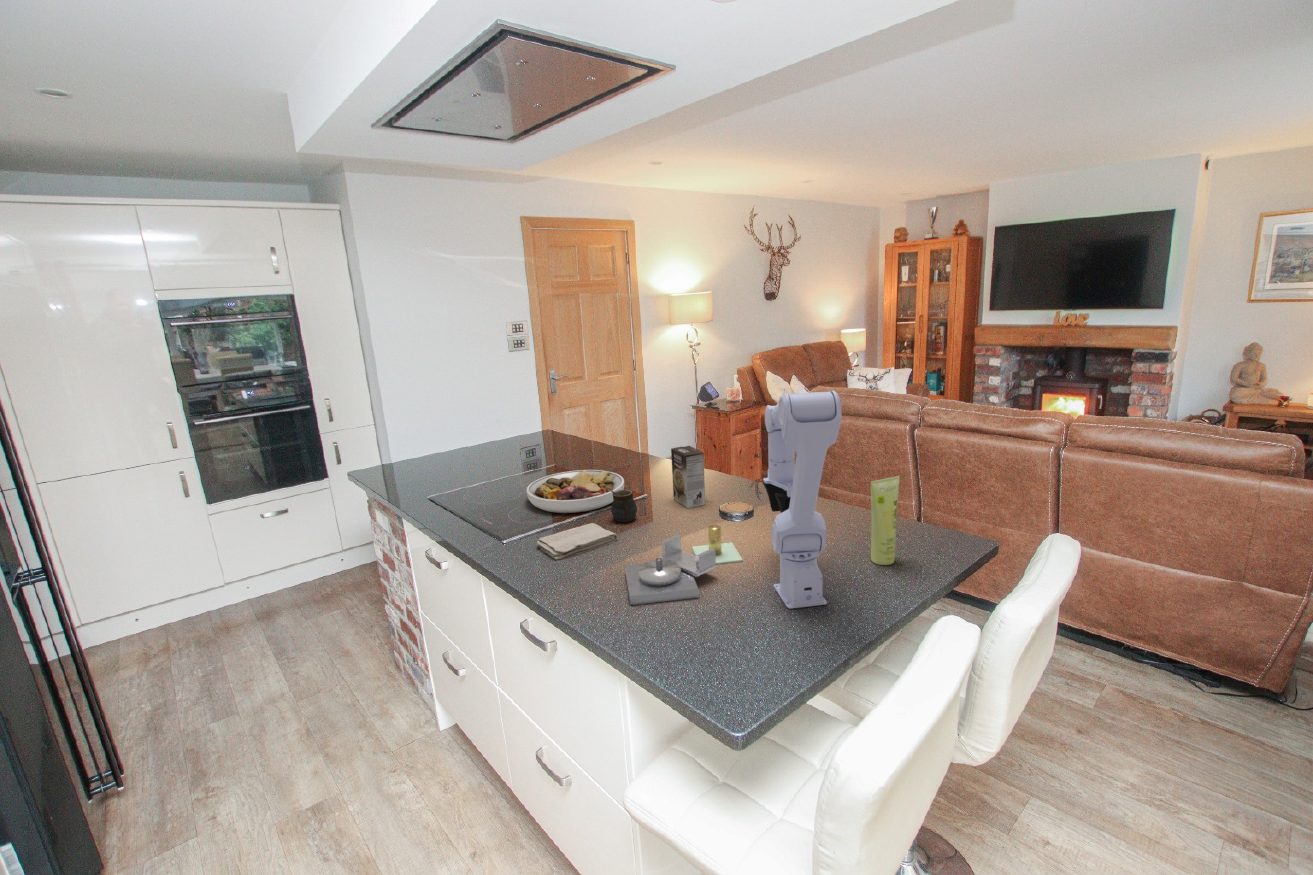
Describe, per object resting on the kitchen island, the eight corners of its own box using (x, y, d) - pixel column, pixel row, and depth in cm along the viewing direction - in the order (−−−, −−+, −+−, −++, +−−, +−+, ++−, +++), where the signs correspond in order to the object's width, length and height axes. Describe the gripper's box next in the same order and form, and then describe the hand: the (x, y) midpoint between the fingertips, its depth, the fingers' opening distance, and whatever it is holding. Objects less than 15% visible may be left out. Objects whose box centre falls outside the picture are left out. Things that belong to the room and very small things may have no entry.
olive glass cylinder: (723, 554, 140) (722, 529, 139) (710, 556, 140) (709, 530, 138) (719, 549, 143) (719, 524, 142) (707, 551, 143) (706, 525, 141)
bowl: (524, 491, 196) (521, 468, 194) (613, 479, 204) (611, 456, 202) (533, 523, 168) (530, 497, 166) (635, 507, 176) (634, 482, 174)
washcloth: (534, 548, 152) (533, 537, 151) (594, 529, 162) (593, 518, 162) (556, 563, 143) (555, 551, 142) (619, 542, 153) (618, 530, 152)
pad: (742, 561, 137) (742, 559, 137) (699, 565, 136) (699, 564, 136) (732, 543, 147) (732, 542, 147) (692, 547, 146) (691, 546, 146)
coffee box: (672, 499, 180) (670, 448, 176) (691, 495, 183) (689, 444, 179) (686, 508, 172) (684, 455, 168) (706, 504, 175) (704, 451, 171)
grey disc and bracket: (663, 592, 120) (662, 574, 119) (625, 573, 130) (624, 555, 129) (716, 567, 130) (716, 549, 129) (678, 550, 139) (677, 534, 138)
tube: (892, 568, 130) (895, 483, 125) (867, 564, 132) (870, 480, 128) (896, 558, 135) (899, 475, 130) (872, 554, 137) (875, 473, 132)
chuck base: (698, 597, 122) (698, 588, 122) (630, 605, 121) (630, 596, 120) (687, 567, 136) (686, 559, 135) (625, 573, 134) (625, 565, 134)
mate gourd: (641, 521, 165) (639, 487, 162) (615, 527, 162) (612, 492, 160) (633, 512, 171) (630, 479, 169) (607, 518, 169) (604, 484, 166)
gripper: (754, 452, 138) (755, 507, 141) (774, 469, 124) (774, 530, 127) (784, 449, 139) (784, 504, 142) (806, 466, 125) (806, 527, 128)
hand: (781, 516), depth 135 cm, fingers open, 7 cm apart
